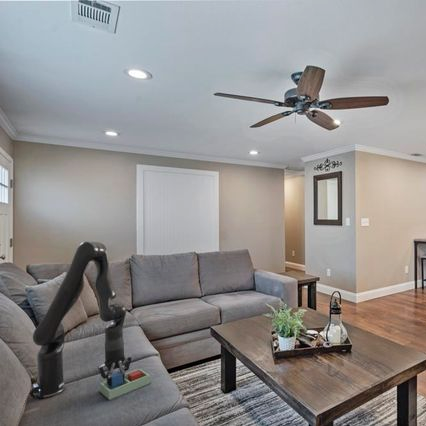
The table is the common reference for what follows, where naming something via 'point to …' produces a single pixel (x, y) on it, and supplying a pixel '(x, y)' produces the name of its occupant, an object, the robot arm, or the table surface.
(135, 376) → the red block
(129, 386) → the sorting tray
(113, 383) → the blue block
